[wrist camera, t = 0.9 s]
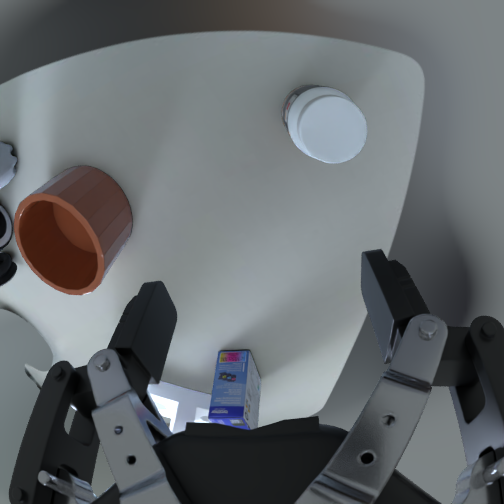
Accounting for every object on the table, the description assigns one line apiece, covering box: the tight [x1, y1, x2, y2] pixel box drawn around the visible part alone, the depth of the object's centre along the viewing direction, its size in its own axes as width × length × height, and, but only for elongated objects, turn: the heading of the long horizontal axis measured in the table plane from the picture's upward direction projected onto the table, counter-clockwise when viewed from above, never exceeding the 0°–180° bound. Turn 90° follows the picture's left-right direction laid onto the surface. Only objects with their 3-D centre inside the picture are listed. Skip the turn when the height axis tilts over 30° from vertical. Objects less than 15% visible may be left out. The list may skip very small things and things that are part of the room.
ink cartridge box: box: [208, 350, 261, 430], centre depth 42 cm, size 10×6×14 cm, turn 12°
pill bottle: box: [281, 85, 367, 163], centre depth 22 cm, size 6×6×10 cm
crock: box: [14, 166, 132, 295], centre depth 29 cm, size 13×13×8 cm
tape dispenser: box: [147, 381, 212, 434], centre depth 51 cm, size 10×18×11 cm, turn 69°
